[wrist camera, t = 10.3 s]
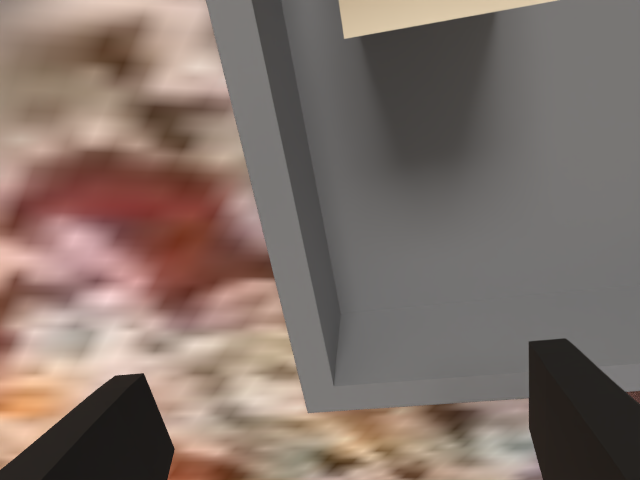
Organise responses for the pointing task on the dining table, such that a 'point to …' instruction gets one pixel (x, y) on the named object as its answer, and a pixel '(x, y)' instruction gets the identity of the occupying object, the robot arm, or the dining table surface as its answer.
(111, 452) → the robot arm
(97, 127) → the dining table surface
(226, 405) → the dining table surface
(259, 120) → the bin
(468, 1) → the birch block
